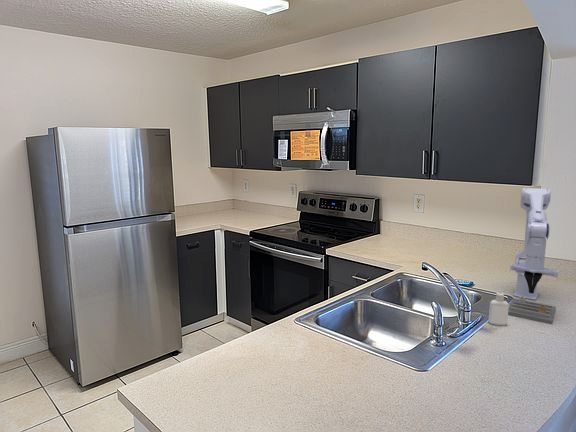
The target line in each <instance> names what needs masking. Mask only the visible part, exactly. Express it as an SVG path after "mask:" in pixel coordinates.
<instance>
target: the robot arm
mask: <svg viewBox="0 0 576 432" xmlns="http://www.w3.org/2000/svg"><path fill="white" fill-rule="evenodd" d="M520 192H521V193H520V209H522V210H525V214H526V220H525V221H526V222H525V232H524V233H525V234H524V245H523V250H520V251H519V252H517V253H515V258H514V263H511V264H510V266H509V270H510V271H514V272H515V273H516V274H517V275H516V276H517V277H516V286H515V287H516V288H515V291H514V292H513V297H518V298H519V297H520V295H521V296H522V295H524V296H526V299H529V300H535V301H536V300H537V298H538V295H539V292H537V289H538V283H539V282H540V280H541V279H542V277H543V276H548V277H549V276H550V277H554V278H558V277H559V270H555V269H551V268H546V267H545V266H544V265H545V255H546V248H547V240H548V239H549V237H550V230H551V229H550V227H551V226H550V223H549V221H547V219H548V218H547V212H546V210H547V209H548V207H549V205H550V202H551V195H552V190H551V189H550V188H536V187H535V188H532V187H531V188H529V187H523V188H521V191H520Z"/></svg>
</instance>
